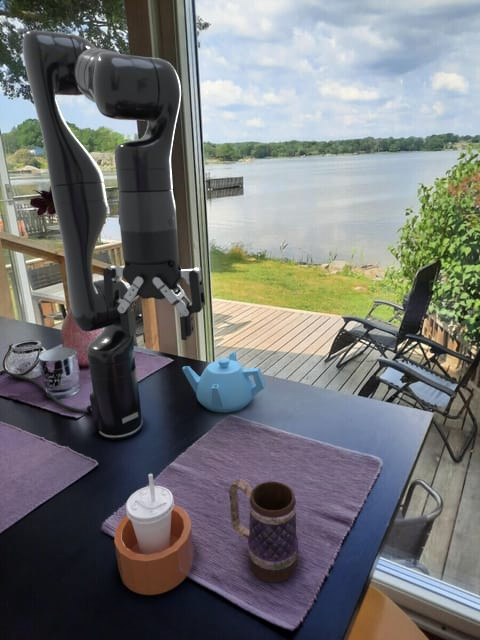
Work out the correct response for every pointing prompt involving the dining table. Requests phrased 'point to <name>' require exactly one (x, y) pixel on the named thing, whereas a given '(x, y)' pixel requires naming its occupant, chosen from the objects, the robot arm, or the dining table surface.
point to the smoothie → (151, 517)
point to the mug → (268, 528)
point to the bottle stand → (155, 557)
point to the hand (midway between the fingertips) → (158, 336)
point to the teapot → (225, 384)
